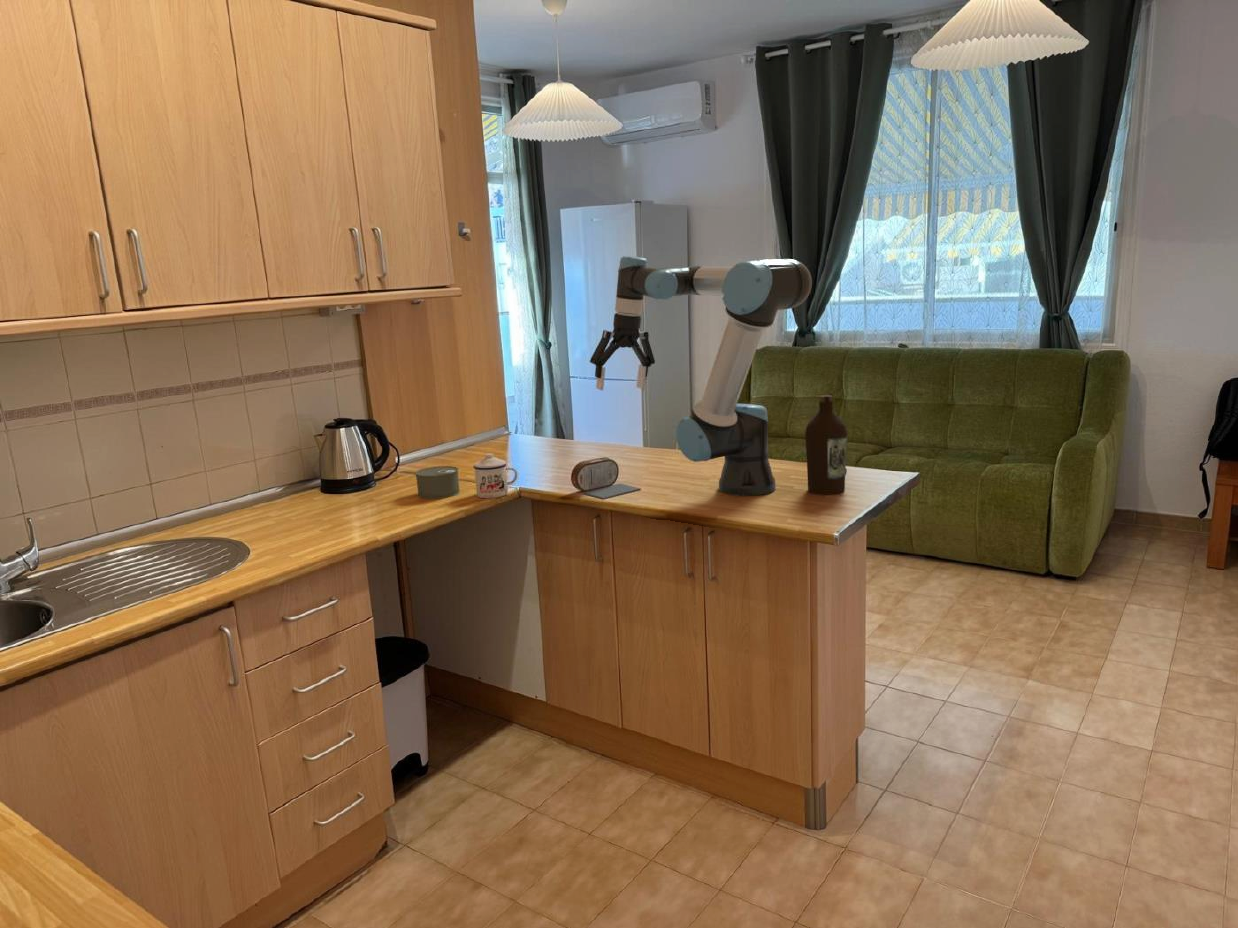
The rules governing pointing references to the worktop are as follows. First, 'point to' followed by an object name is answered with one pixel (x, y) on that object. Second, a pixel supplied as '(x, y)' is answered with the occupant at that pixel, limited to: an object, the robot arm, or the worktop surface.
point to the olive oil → (826, 450)
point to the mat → (612, 491)
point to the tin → (594, 474)
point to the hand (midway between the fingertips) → (620, 388)
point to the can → (437, 482)
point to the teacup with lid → (492, 477)
